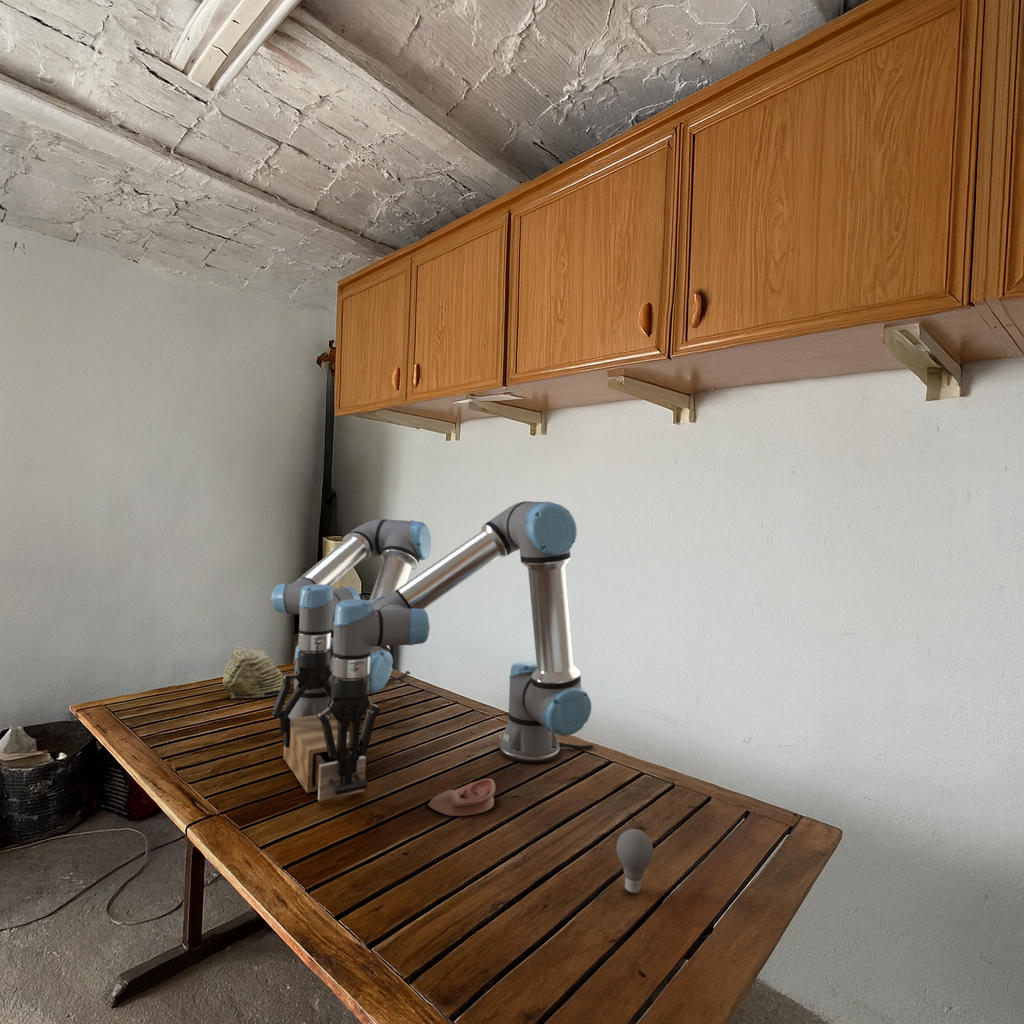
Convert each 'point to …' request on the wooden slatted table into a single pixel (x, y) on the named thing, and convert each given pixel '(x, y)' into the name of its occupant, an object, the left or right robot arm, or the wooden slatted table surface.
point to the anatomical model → (466, 799)
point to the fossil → (251, 674)
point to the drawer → (336, 777)
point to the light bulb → (634, 857)
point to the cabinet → (307, 747)
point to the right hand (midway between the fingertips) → (345, 789)
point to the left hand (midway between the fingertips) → (311, 741)
